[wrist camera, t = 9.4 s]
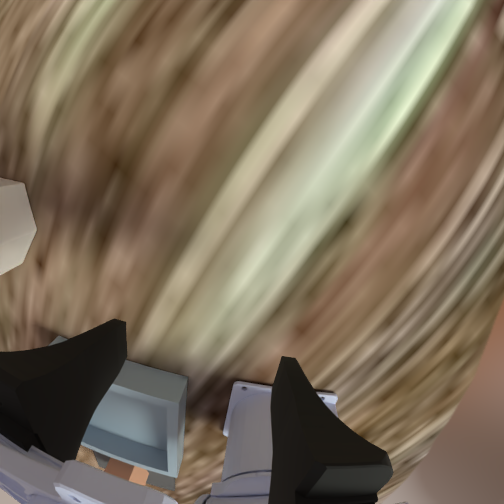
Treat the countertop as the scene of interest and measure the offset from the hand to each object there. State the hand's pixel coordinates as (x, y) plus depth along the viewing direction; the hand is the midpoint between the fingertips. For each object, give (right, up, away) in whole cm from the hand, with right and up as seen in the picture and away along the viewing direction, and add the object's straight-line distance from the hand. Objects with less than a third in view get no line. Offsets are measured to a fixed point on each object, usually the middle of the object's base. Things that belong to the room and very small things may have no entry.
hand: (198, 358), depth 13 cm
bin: (-11, -12, +14) cm, 21 cm away
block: (-14, -24, +17) cm, 32 cm away
